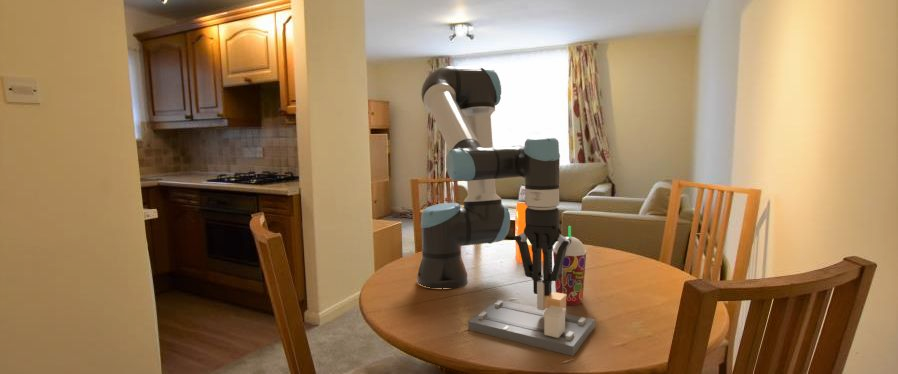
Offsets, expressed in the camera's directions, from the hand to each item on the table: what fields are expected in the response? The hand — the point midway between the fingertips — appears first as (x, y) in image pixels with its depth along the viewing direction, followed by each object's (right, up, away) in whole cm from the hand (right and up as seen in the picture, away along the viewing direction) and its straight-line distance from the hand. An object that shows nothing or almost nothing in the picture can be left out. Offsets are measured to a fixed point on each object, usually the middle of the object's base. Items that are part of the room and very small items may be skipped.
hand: (542, 307), depth 103 cm
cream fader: (+1, -3, -10) cm, 10 cm away
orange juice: (+7, +2, +54) cm, 54 cm away
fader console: (-3, -4, -2) cm, 5 cm away
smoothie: (+10, -2, +13) cm, 17 cm away
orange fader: (+3, -2, -2) cm, 4 cm away
